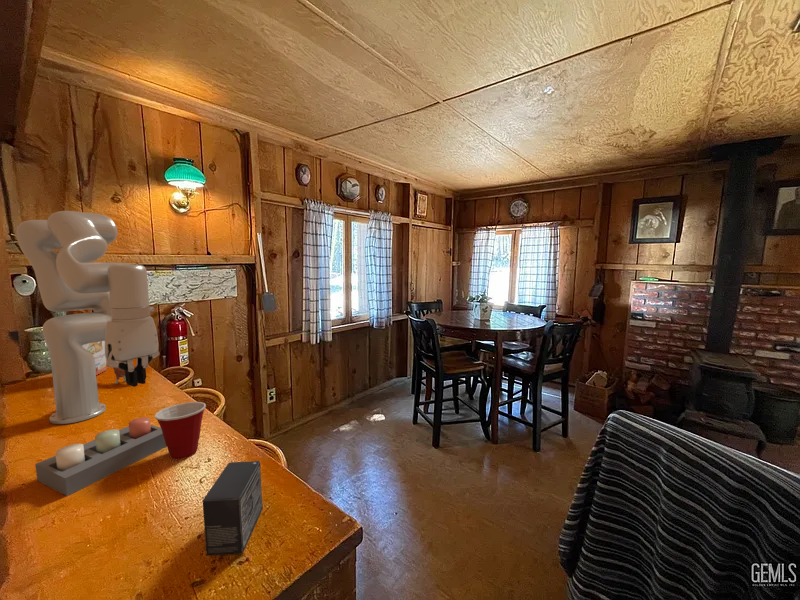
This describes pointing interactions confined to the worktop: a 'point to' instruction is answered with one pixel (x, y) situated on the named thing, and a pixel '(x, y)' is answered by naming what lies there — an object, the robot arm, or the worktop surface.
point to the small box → (232, 508)
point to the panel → (99, 461)
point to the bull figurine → (119, 374)
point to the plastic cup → (181, 428)
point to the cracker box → (97, 355)
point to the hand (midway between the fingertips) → (136, 383)
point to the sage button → (107, 441)
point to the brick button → (139, 427)
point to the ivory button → (69, 456)
